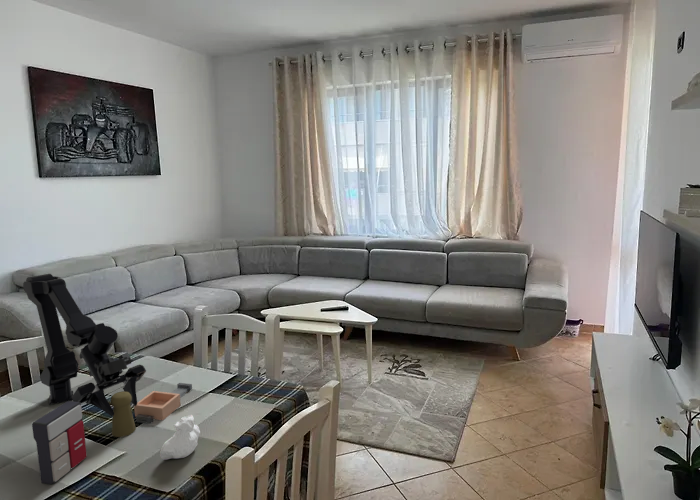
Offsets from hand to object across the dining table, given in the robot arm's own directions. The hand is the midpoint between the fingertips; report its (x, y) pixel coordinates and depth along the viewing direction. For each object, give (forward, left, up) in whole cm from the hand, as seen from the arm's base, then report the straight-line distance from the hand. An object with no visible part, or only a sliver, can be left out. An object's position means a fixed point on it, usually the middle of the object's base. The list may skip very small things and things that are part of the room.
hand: (124, 410), depth 132 cm
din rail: (-11, +12, -7) cm, 18 cm away
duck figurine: (+18, +11, -7) cm, 22 cm away
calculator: (+11, -15, -7) cm, 19 cm away
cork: (-1, -1, -7) cm, 7 cm away
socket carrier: (-8, +9, -7) cm, 14 cm away
